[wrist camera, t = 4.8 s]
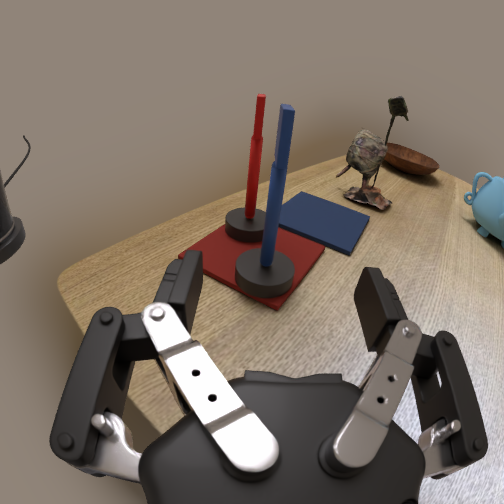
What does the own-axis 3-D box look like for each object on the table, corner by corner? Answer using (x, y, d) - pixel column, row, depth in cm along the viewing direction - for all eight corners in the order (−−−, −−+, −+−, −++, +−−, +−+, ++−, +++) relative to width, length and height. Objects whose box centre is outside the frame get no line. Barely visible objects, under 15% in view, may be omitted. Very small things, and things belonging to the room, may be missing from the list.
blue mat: (264, 221, 38) (264, 217, 38) (300, 194, 47) (301, 191, 46) (349, 255, 33) (350, 251, 33) (368, 219, 42) (370, 216, 42)
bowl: (362, 161, 70) (366, 144, 67) (385, 153, 84) (389, 140, 81) (429, 190, 60) (434, 172, 57) (438, 176, 74) (442, 162, 71)
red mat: (178, 259, 30) (177, 254, 30) (241, 217, 39) (241, 213, 38) (277, 311, 25) (278, 306, 25) (324, 250, 34) (325, 246, 34)
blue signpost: (232, 295, 26) (246, 106, 16) (237, 258, 30) (250, 99, 21) (293, 301, 26) (333, 118, 16) (290, 263, 30) (318, 107, 21)
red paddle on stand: (222, 240, 33) (230, 94, 23) (227, 216, 37) (236, 91, 28) (271, 245, 33) (292, 100, 23) (271, 220, 37) (287, 96, 28)
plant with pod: (349, 182, 54) (369, 87, 43) (396, 207, 48) (424, 104, 36) (325, 188, 50) (344, 80, 38) (376, 216, 43) (407, 97, 32)
